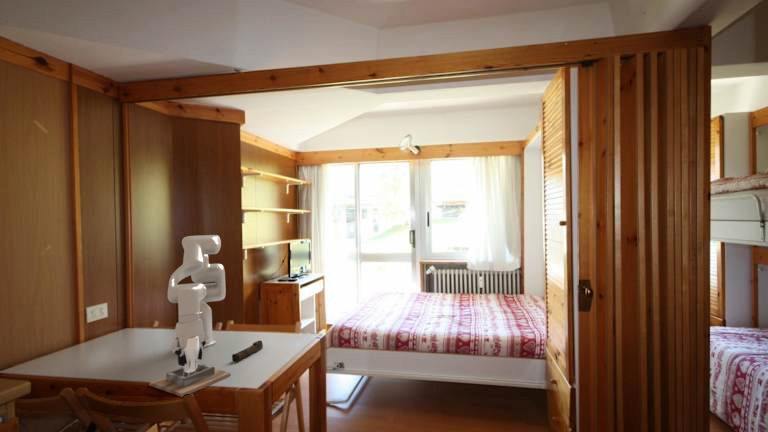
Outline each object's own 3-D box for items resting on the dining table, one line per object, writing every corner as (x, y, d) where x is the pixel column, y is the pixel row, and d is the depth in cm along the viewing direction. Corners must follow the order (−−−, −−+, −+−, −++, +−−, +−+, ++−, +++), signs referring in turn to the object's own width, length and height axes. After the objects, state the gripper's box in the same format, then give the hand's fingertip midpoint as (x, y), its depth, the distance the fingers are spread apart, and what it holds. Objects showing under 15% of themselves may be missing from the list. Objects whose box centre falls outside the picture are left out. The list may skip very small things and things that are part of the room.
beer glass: (180, 378, 138) (179, 340, 139) (181, 372, 144) (180, 335, 145) (200, 374, 141) (199, 337, 142) (200, 368, 148) (199, 332, 148)
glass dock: (149, 385, 139) (149, 374, 140) (197, 366, 157) (197, 357, 157) (182, 397, 129) (182, 385, 129) (230, 375, 146) (230, 365, 146)
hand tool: (238, 363, 160) (238, 352, 160) (231, 362, 162) (231, 352, 162) (267, 349, 178) (266, 339, 178) (260, 348, 179) (260, 339, 179)
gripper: (203, 311, 153) (204, 353, 153) (162, 322, 138) (163, 368, 137) (214, 313, 149) (215, 356, 149) (173, 324, 134) (174, 372, 134)
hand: (190, 361), depth 143 cm, fingers open, 6 cm apart
